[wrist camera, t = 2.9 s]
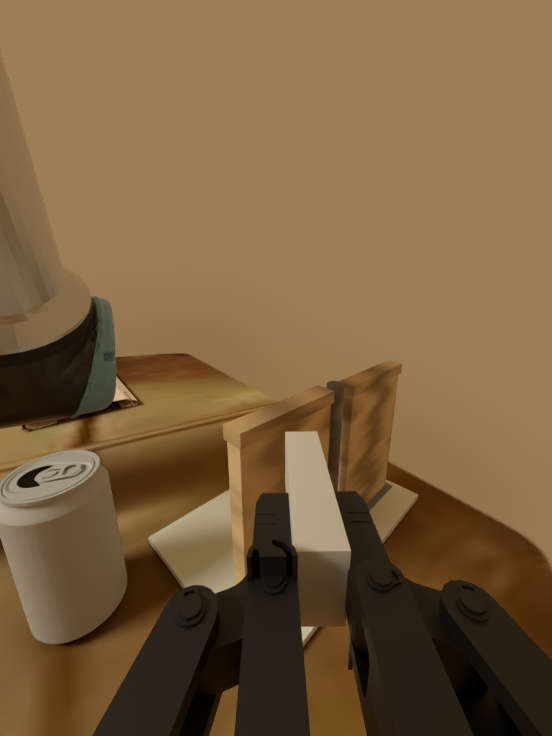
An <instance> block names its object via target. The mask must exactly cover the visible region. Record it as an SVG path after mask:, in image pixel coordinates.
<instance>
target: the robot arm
mask: <svg viewBox="0 0 552 736" xmlns="http://www.w3.org/2000/svg"><path fill="white" fill-rule="evenodd" d="M114 355H115V335H114V324H113V315H112V309H111V305H110V303H109V302H108V301H107V300H106V299H102V298H98V297H96V296H93V297H91V294H90V291H89V289H88V287H87V285H86V283H85V282H84V281H83V279H82V278H80V276H78V275H77V274H76V273H74V272H73V271H71V270H69V269H68V268H65V267H63V266H62V264H61V261H60V257H59V254H58V250H57V247H56V243H55V240H54V236H53V233H52V230H51V226H50V222H49V219H48V215H47V212H46V209H45V205H44V202H43V198H42V194H41V191H40V187H39V184H38V180H37V177H36V173H35V170H34V166H33V163H32V159H31V156H30V152H29V149H28V145H27V142H26V138H25V135H24V131H23V128H22V125H21V121H20V117H19V114H18V110H17V107H16V103H15V100H14V96H13V93H12V89H11V86H10V82H9V78H8V75H7V71H6V68H5V65H4V61H3V57H2V54H1V51H0V429H2V428H8V427H14V426H21V425H27V424H33V423H39V422H46V421H52V420H58V419H64V418H69V419H70V418H75V417H77V416H79V415H81V414H86V413H91V412H95V411H100V410H103V409H105V408H107V407H108V406H109V405H110V404H111V403H112V402H113V400H114V397H115V392H116V359H115V356H114ZM285 487H286V493H262V494H261V496H260V497H259V499H258V500H257V502H256V507H255V520H254V532H253V545H252V546H251V547H250V548H249V550H248V553H247V556H246V560H247V575H246V576H245V577H244V578H243V579H242V581H240V582H239V583H238V584H236V585H235V586H233V587H231V588H229V589H226V590H223V591H220V592H217V593H214V592H213V591H212V590H211V589H210V588H208V587H206V586H204V585H192V586H189V587H186V588H183V589H182V590H180V591H179V592H177V593H176V594H175V595H173V597H172V598H171V599H170V601H169V602H168V603H167V604H166V606H165V608H164V610H163V611H162V613H161V615H160V617H159V618H158V620H157V622H156V624H155V626H154V627H153V629H152V631H151V633H150V634H149V636H148V638H147V640H146V641H145V643H144V645H143V647H142V649H141V650H140V652H139V654H138V656H137V657H136V659H135V661H134V663H133V664H132V666H131V668H130V670H129V672H128V673H127V675H126V677H125V679H124V680H123V682H122V684H121V686H120V687H119V689H118V691H117V693H116V695H115V696H114V698H113V700H112V702H111V703H110V705H109V707H108V709H107V710H106V712H105V714H104V716H103V718H102V719H101V721H100V723H99V725H98V726H97V728H96V730H95V732H94V733H93V735H92V736H209V734H210V731H211V727H212V724H213V721H214V718H215V715H216V711H217V708H218V705H219V702H220V698H221V695H222V692H223V691H225V690H228V689H230V688H232V687H234V686H236V685H238V684H239V688H238V700H237V711H236V723H235V735H234V736H310V729H309V716H308V704H307V692H306V679H305V667H304V655H303V642H302V630H301V627H326V626H345V624H346V615H347V620H348V624H349V629H350V640H349V652H348V670H352V667H353V668H354V673H355V678H356V683H357V688H358V693H359V698H360V703H361V708H362V713H363V718H364V723H365V728H366V733H367V736H552V661H551V660H550V659H549V658H548V657H547V655H546V654H545V653H544V652H543V651H542V650H541V649H540V648H539V647H538V646H537V645H536V644H535V643H534V641H533V640H532V639H531V638H530V637H529V636H528V635H527V634H526V633H525V632H524V631H523V630H522V629H521V627H520V626H519V625H518V624H517V623H516V622H515V621H514V620H513V619H512V618H511V617H510V616H509V615H508V614H507V612H506V611H505V610H504V609H503V608H502V607H501V606H500V605H499V604H498V603H497V602H496V601H495V600H494V599H493V598H492V597H491V596H490V595H489V594H488V593H486V592H485V591H484V590H483V589H481V588H479V587H477V586H476V585H474V584H472V583H468V582H465V581H461V580H457V581H450V582H448V583H446V584H445V585H444V587H443V589H442V591H439V590H436V589H432V588H429V587H425V586H422V585H419V584H416V583H414V582H412V581H410V580H408V579H407V578H405V577H404V576H403V574H402V573H401V571H400V570H399V569H398V568H396V567H395V566H394V565H393V564H392V563H391V562H390V560H389V558H388V556H387V553H386V551H385V548H384V546H383V543H382V541H381V539H380V536H379V534H378V531H377V529H376V526H375V524H374V523H373V519H372V517H371V514H370V513H369V509H368V507H367V504H366V502H365V500H364V499H363V498H362V497H361V496H360V495H359V494H358V493H357V492H356V491H334V489H333V486H332V482H331V479H330V475H329V472H328V468H327V464H326V461H325V457H324V454H323V450H322V447H321V443H320V440H319V436H318V433H317V431H304V432H285Z"/></svg>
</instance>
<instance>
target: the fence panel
mask: <svg viewBox="0 0 552 736" xmlns="http://www.w3.org/2000/svg"><path fill="white" fill-rule="evenodd" d="M344 387H345V384H344V383H342V382H338V381H330V382H328V383H327V388H324V387H321V386H316V387H313V388H311V389H309V390H306V391H304V392H301V393H299V394H296V395H294V396H291V397H289V398H287V399H284V400H282V401H279V402H277V403H274V404H272V405H269V406H267V407H264V408H262V409H260V410H257V411H255V412H252V413H250V414H247V415H245V416H242V417H240V418H237V419H235V420H233V421H230V422H228V423H225V424H223V436H224V440H225V441H227V448H228V466H229V485H230V503H231V521H232V540H233V558H234V576H235V585H236V584H238V583H239V582H240V581H242V579H243V578H244V577H245V576H246V575H247V560H246V556H247V553H248V550H249V548H250V547H251V546H252V545H253V532H254V520H255V507H256V502H257V500H258V499H259V497H260V496H261V494H262V493H286V487H285V432H304V431H317V433H318V436H319V440H320V443H321V447H322V450H323V454H324V457H325V461H326V464H327V468H328V472H329V475H330V479H331V482H332V486H333V489H334V491H337V490H338V475H339V460H340V446H341V431H342V416H343V401H344Z"/></svg>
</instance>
